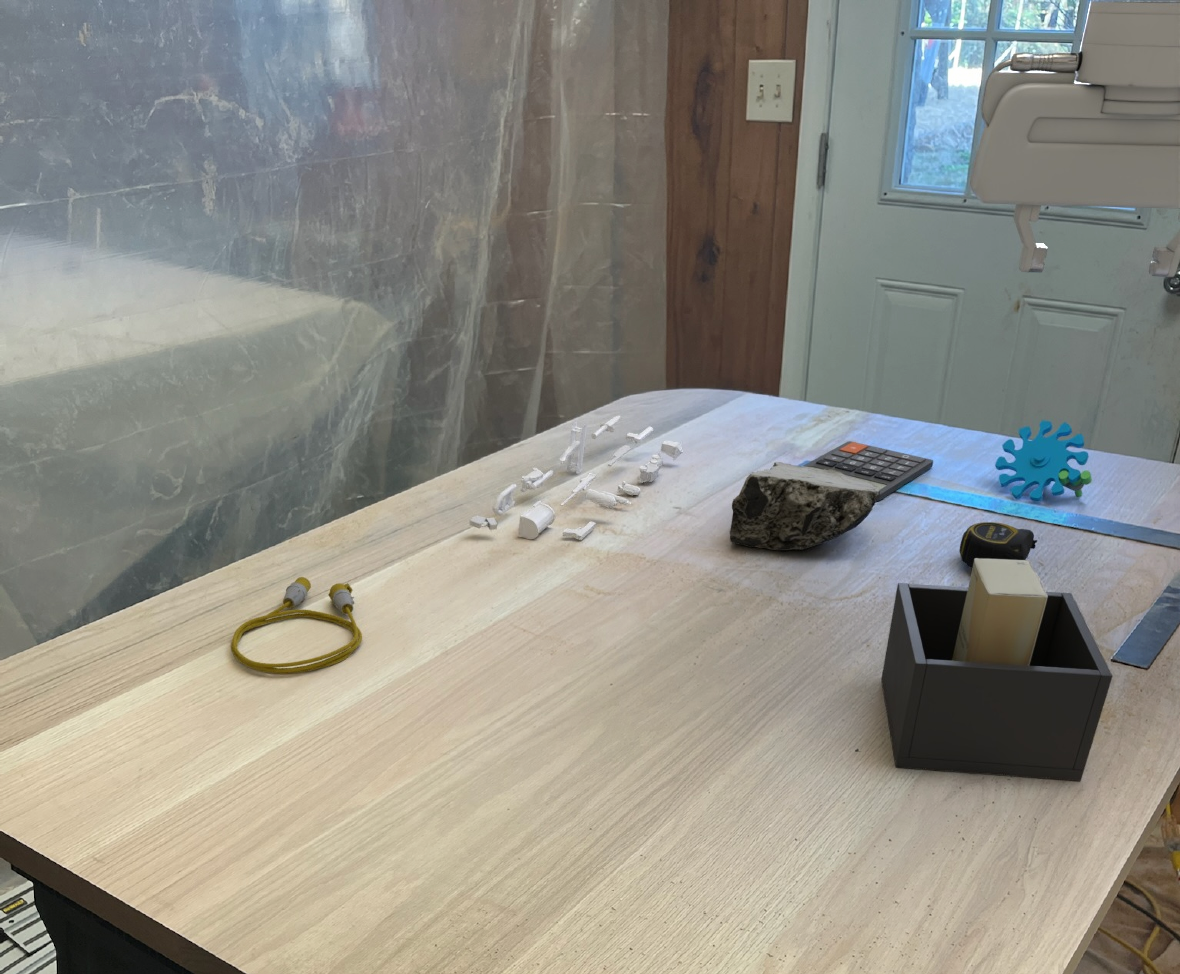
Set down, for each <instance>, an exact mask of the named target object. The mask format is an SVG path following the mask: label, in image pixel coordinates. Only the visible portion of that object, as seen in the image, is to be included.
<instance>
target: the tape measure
mask: <svg viewBox="0 0 1180 974" xmlns="http://www.w3.org/2000/svg"><path fill="white" fill-rule="evenodd" d="M1037 542H1038V540H1037V539H1035V533H1034V532H1033V531H1032V530H1030V529H1026V528H1017V527H1014V526H1012V525H1009V524H1007V523H1002V522H994V521H993V522H992V521H984V522H977V523H974V524H972V525H970V526H969V527H967V529H966V530H965V531H964V532H963V534H962V537H961V540H960V544H959V550H958V553H959V555H960V560H961V561H962V563H963V564H965V565H966V566H967V567H969V568H970V569H972V568H973V563H974V559H975V558H980V559H981V558H982V559H1007V560H1028V559H1027V558H1028V556H1029V555H1030V552H1031V550H1035V548H1036V543H1037Z"/></svg>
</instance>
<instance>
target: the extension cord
mask: <svg viewBox="0 0 1180 974" xmlns="http://www.w3.org/2000/svg"><path fill="white" fill-rule="evenodd" d="M311 587H312V584H311V582H310V580H309V579H308V578H307V577H304V576H300V577H297V578H296V579H295V581H294V582H291V584H290V585H289V586H287V587H286V589H285V594H284V597H283V599H282V605H280V606H279V607H278V608H276V609H274V610H273V611H271V612H269V613H268V614H266V615H262V616H258V617H255V618H252V619H249V620H247V621H245V622H243V623H242V624H241V625H240V626H239V627H238V628H237V629H236V630H235V632H234V633H233V636H232V639H231V642H230V643H231V644H230V649H231V653H232V655H233V656H234V658H235V659H236V660H237V661H238V662H240V663H241V664H242V665H244V666H246V667H247V668H250V669H253V670H255V671H259V672H263V673H268V674H277V675H278V674H281V675H283V674H284V675H285V674H297V673H304V672H309V671H313V670H319V669H323V668H326V667H329V666H332V665H335V664H338V663H340V662H342V661H344V660H346V659H347V658H349V657H350V656H351V654H352V653H353V652H354V651H355V650H356V649H357V648H358V647H359V646H360V645H361V643H362V641H363V633H362V632H361V630H360V628H359V627H358V625H357V623H356V620H355V618H354V616H353V614H352V613H353V611H354V604H355V601H354V599H355V596H352V593H353V588H352V587H351V585H350V583H348V582H347V583H345V584H343V583H342V582H341V583H340V582H339V583H335V584H333V585H332V586H331V587H330V588H329V592H328V594H327V595H328V597H329V598H330V601H331V603H332V605H334V607H335V608H337V609H338V610H339V611H340V612H341V613H342V614H344V615H347V616H348V618H349V620H348V619H345V618H344V617H341V616H337V615H335V614H331V613H327V612H322V611H317V610H311V609H293V608H295V607H296V606H297V605H299V604H301V603H302V604H303V602H304V601H305V599H306V597H307V596H308V592H309V591H310V589H311ZM286 608H287V609H288V610H285V609H286ZM289 609H290V610H289ZM294 618H311V619H319V620H323V621H327V622H330V623H334V624H336V625H339V626H341V627H344V628H346V629H348V630H349V631H350V632H351V633H352V634H351V635H352V639H351V640H350V641H349V642H348V643H347V644H345V645H343V646H341V647H340V648H337V649H335V650H333V651H331V652H328V653H325V654H322V655H319V656H315V657H313V658H308V659H304V660H298V661H292V662H281V663H266V662H259V661H255V660H252V659H249V658H247V657H246V656H245V655H243V654H242V653H241V652H240V651H239V649H238V645H239V642H240V640H241V638H242V636H243V634H244V633H246V632H247V631H249V630H251V629H254V628H256V627H260V626H262V625H267V624H270V623H274V622H279V621H284V620H289V619H294Z"/></svg>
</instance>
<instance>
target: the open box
mask: <svg viewBox="0 0 1180 974" xmlns="http://www.w3.org/2000/svg"><path fill="white" fill-rule="evenodd" d="M968 587H969V586H957V585H955V586H954V585H938V584H937V585H936V584H923V583H922V584H921V583H920V584H919V583H907V582H898V583H897V586H896V591H895V597H894V603H893V608H892V609H893V610H892V616H891V619H890V620H891V621H890V625H889V632H888V638H887V643H886V650H885V656H884V661H883V667H882V673H881V686H882V692H883V698H884V705H885V710H886V716H887V717H886V718H887V723H888V729H889V735H890V740H891V747H892V753H893V759H894V766H895V768H896V769H897V768H901V769H911V770H925V771H940V772H954V773H964V774H965V773H966V774H968V773H969V774H979V775H980V774H981V775H992V776H993V775H995V776H1005V777H1007V776H1008V777H1021V778H1033V779H1046V780H1047V779H1048V780H1049V779H1050V780H1060V781H1061V780H1062V781H1076V782H1081V780H1082V778H1083V775H1084V772H1085V768H1086V765H1087V762H1088V759H1089V755H1090V752H1091V749H1092V746H1093V742H1094V739H1095V735H1096V732H1097V729H1098V726H1099V722H1100V719H1101V716H1102V713H1103V710H1104V706H1105V703H1106V699H1107V696H1108V694H1109V689H1110V687H1111V684H1112V680H1113V674H1112V671H1111V670H1110V667H1109V666H1108V664H1107V662H1106V660H1105V658H1104V656H1103V653H1102V652H1101V650H1100V648H1099V645H1098V644H1097V642H1096V640H1095V638H1094V636H1093V634H1092V632H1091V629H1090V627H1089V626H1088V624H1087V622H1086V620H1085V618H1084V616H1083V614H1082V611H1081V610H1080V608H1079V606H1078V603H1077V602H1076V599H1075V598H1074V596H1073V594H1072V593H1071V592H1058V591H1046V593H1047V595H1048V598H1047V602H1046V605H1045V609H1044V613H1043V616H1042V620H1041V624H1040V627H1039V631H1038V635H1037V639H1036V642H1035V646H1034V650H1033V654H1032V657H1031V661H1030V665H1029V666H1025V665H1010V664H994V663H979V662H963V661H952V658H953V654H954V649H955V645H956V640H957V635H958V631H959V627H960V622H961V618H962V613H963V609H964V604H965V600H966V596H967V591H968Z"/></svg>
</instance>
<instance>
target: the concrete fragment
mask: <svg viewBox="0 0 1180 974" xmlns="http://www.w3.org/2000/svg"><path fill="white" fill-rule="evenodd" d="M879 493H880V488H879V487H877V486H876V485H874V484H873V483H871V482H870V481H865V480H862V479H858V478H853V477H850V476H847V475H844V474H843V473H842V472H840V471H836V470H831V469H823V470H819V469H816V468H810V467H804V466H803V465H795V464H791V463H786V462H785V463H784V462H782V461H776V462H774V463H773V465H772V466H771V467H770V469H768V468H767V469H763V470H757V471H754V472H751V473H749V474H748V476H747V477H746V479H745V481H744V483H743V485H742V487H741V489H740V492H739V494H738V495H736V496H735V497H734V498H733V500H732V503H731V509H732V516H731V523H730V530H729V541H730V543H732V544H736V545H740V546H745V547H749V548H750V547H751V548H758V549H764V548H765V549H768V550H772V551H791V550H800V551H802V550H805V549H808V548H812V547H814V546H818V545H821V544H824V543H826V542H829V541H831V540H833V539H835V538H838V537H839V536H841V535H843V534H846V533H848V532H851V531H853V530H854V529H855V528H856V527H859V525H860V524H862V523H863V522H864V520H865V519H866V518H868V516H869V515H870V513H871V512H872V510H873V508H874V506H875V504H876V503H877V499H878V497H879Z"/></svg>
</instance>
